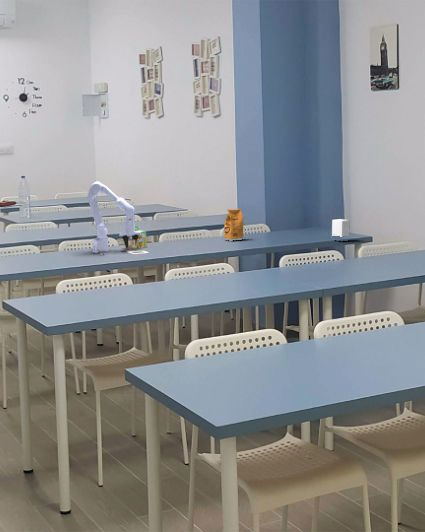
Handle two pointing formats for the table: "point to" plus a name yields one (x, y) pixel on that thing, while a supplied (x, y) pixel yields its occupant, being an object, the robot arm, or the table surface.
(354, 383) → the table surface
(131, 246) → the beech block
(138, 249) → the rail plate
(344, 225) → the supplement box
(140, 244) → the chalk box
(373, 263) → the table surface
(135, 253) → the parts tray
